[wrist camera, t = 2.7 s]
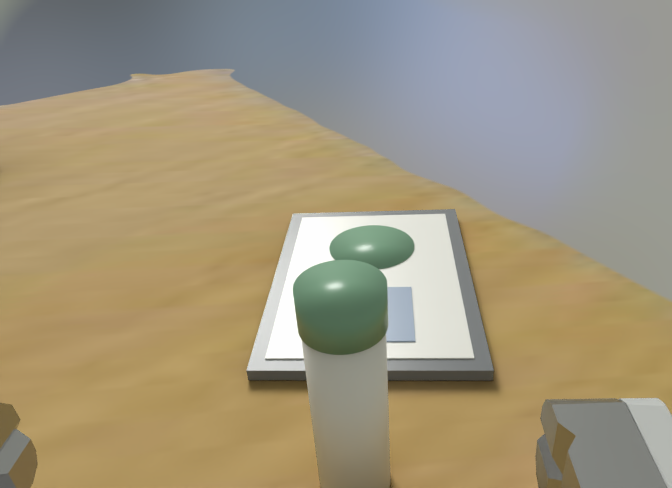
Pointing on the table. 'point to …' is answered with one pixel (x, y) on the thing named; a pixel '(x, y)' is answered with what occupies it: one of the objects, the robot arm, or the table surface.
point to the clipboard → (403, 293)
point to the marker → (346, 370)
